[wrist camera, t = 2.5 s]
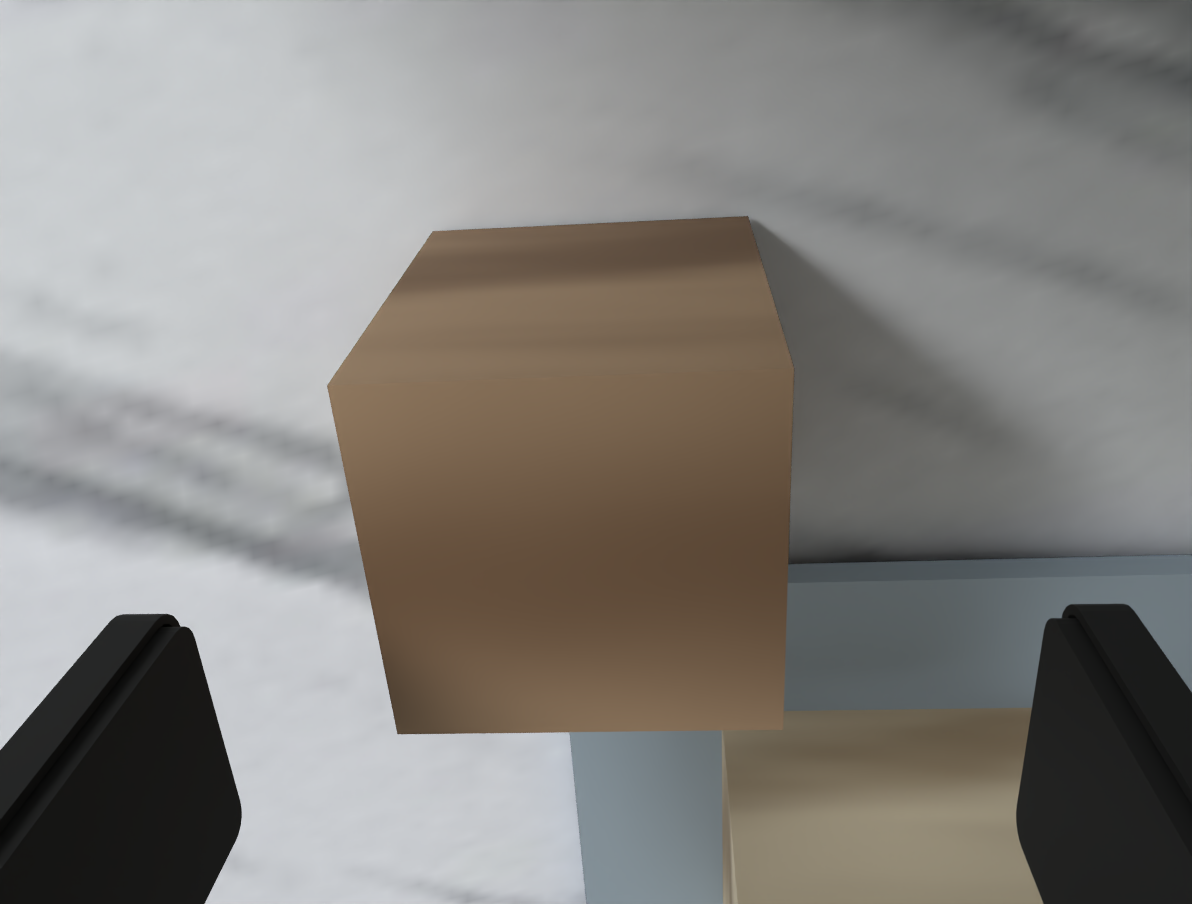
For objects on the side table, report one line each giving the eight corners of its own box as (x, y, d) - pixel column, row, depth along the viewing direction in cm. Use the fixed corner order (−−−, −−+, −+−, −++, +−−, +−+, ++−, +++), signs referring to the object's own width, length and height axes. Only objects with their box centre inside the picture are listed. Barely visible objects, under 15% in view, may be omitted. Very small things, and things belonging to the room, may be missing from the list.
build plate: (558, 569, 19) (555, 588, 19) (1224, 553, 18) (1240, 573, 18) (597, 980, 25) (596, 1003, 24) (1109, 983, 24) (1119, 1007, 23)
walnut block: (432, 231, 16) (327, 385, 11) (748, 216, 16) (794, 368, 11) (470, 500, 19) (397, 733, 13) (746, 492, 18) (782, 729, 13)
